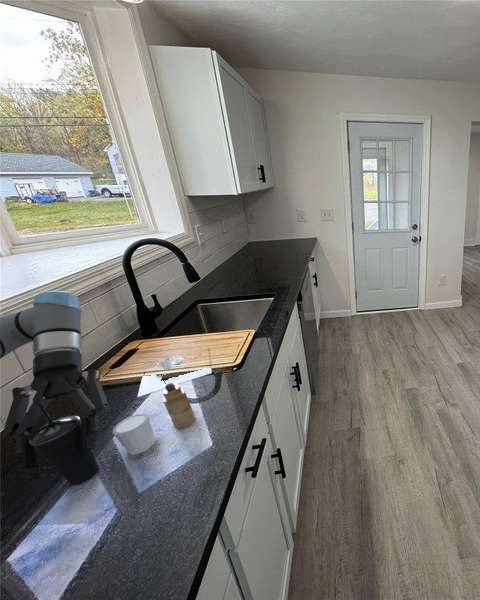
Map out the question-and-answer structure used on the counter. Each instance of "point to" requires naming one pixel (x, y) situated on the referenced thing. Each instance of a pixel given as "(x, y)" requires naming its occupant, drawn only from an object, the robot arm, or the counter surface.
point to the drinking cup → (65, 448)
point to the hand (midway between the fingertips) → (59, 458)
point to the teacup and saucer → (168, 362)
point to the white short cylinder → (135, 433)
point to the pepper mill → (178, 406)
